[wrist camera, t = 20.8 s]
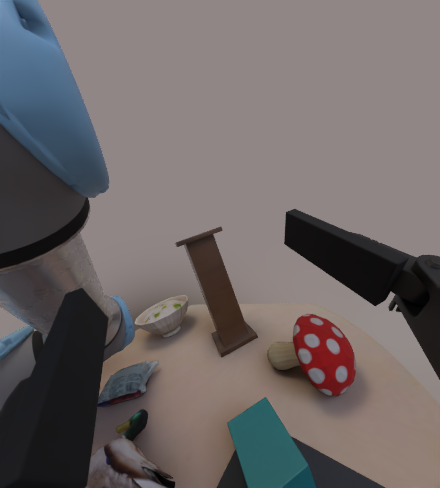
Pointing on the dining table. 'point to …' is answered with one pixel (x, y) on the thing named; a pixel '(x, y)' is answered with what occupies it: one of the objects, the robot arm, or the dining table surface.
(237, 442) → the teal long block
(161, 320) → the bowl
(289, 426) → the dining table surface
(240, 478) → the mat
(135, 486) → the decorative duck model
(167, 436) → the dining table surface
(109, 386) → the packaged food
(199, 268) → the stand
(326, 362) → the decorative mushroom
